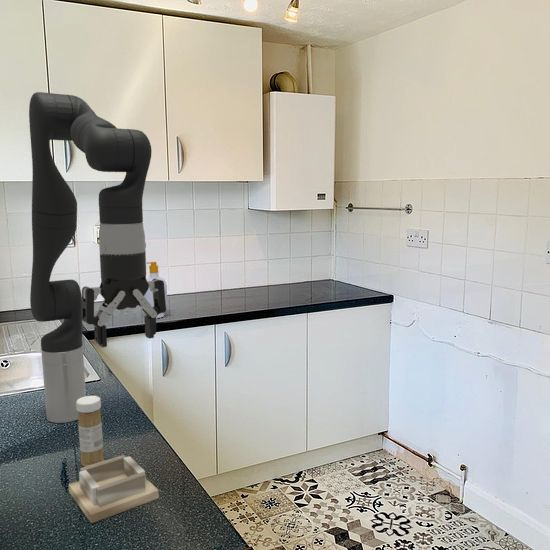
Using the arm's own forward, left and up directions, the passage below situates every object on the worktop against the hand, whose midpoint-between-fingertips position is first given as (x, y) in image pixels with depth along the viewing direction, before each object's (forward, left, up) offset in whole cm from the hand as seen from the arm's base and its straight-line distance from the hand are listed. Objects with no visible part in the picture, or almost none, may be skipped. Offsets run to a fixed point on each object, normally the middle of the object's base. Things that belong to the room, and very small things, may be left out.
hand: (126, 341), depth 95 cm
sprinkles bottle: (-15, -3, -28) cm, 32 cm away
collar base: (-1, -4, -28) cm, 28 cm away
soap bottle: (-125, +62, -28) cm, 142 cm away
